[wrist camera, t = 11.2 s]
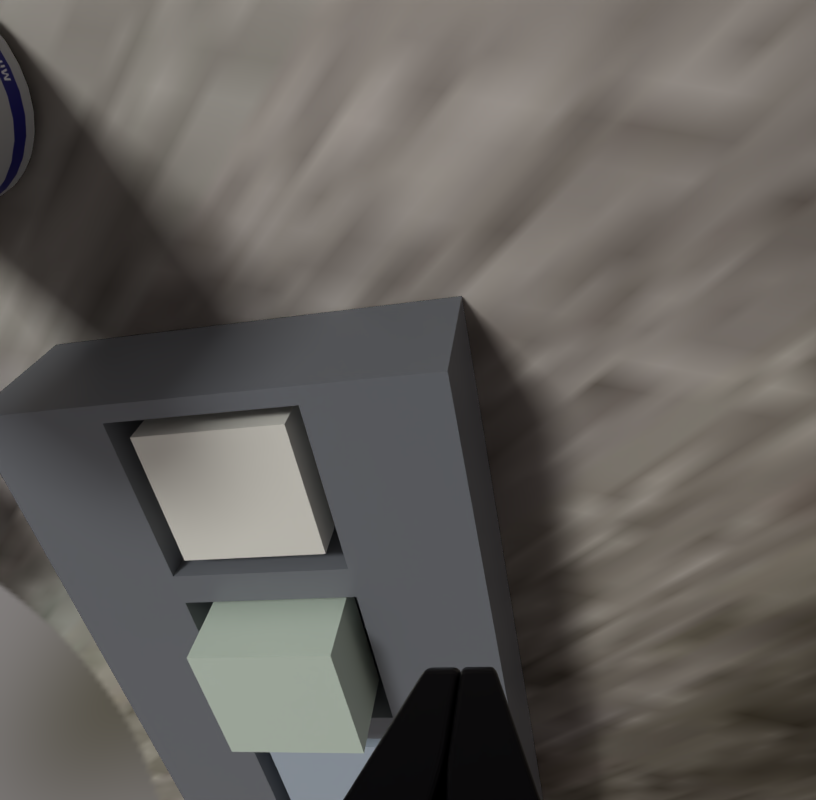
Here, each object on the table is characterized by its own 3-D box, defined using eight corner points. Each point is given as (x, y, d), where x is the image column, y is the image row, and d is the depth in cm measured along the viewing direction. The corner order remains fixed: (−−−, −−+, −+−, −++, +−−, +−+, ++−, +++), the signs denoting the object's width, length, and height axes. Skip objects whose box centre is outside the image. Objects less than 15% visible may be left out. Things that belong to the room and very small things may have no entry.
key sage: (350, 583, 21) (330, 655, 19) (379, 678, 23) (364, 753, 21) (219, 588, 22) (186, 658, 20) (258, 680, 24) (232, 751, 22)
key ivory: (311, 371, 19) (284, 424, 17) (345, 493, 21) (325, 553, 19) (171, 386, 20) (129, 437, 18) (217, 501, 22) (184, 560, 20)
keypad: (461, 295, 19) (447, 370, 16) (547, 826, 31) (549, 934, 28) (55, 344, 22) (-32, 418, 18) (277, 817, 33) (249, 915, 30)
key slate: (398, 680, 25) (387, 747, 23) (419, 753, 27) (410, 820, 25) (288, 680, 26) (266, 746, 24) (315, 751, 28) (298, 817, 26)
